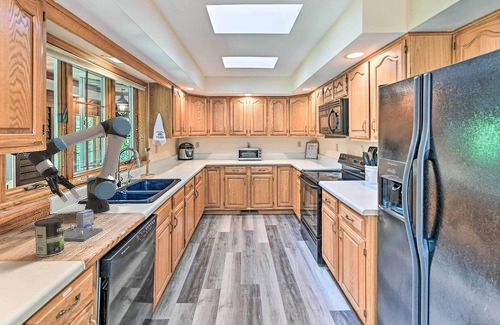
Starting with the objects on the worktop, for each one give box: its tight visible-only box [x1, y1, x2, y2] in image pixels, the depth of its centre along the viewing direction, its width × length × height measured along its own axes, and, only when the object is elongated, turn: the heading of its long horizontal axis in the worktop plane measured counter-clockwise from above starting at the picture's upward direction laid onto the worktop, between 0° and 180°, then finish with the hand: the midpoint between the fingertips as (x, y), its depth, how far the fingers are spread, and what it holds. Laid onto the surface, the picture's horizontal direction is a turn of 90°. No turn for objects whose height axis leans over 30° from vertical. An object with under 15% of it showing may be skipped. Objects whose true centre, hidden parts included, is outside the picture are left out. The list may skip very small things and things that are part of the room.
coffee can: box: [33, 217, 65, 258], centre depth 125 cm, size 10×10×14 cm
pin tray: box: [63, 224, 104, 242], centre depth 148 cm, size 16×18×4 cm
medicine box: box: [75, 209, 94, 228], centre depth 163 cm, size 8×4×9 cm, turn 168°
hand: (73, 199), depth 163 cm, fingers open, 13 cm apart
